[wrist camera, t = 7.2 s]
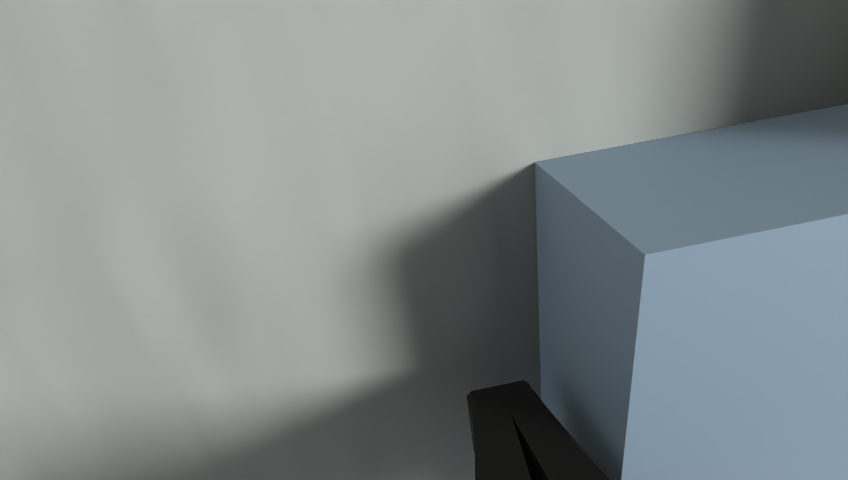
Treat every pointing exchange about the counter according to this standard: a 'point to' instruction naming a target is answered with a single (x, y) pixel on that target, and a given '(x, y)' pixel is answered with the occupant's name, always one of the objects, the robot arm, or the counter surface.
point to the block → (701, 301)
